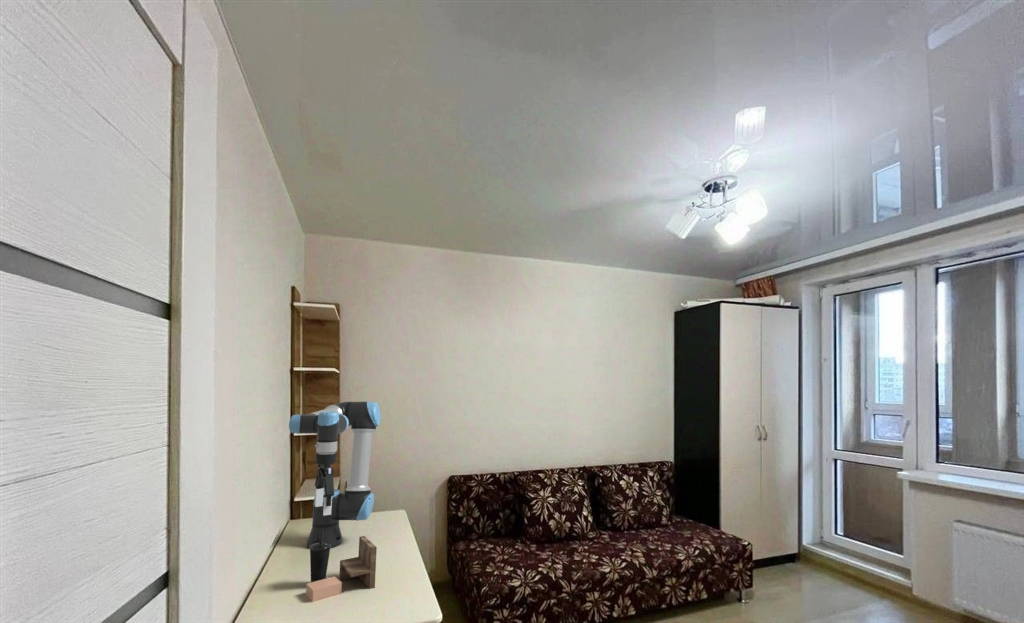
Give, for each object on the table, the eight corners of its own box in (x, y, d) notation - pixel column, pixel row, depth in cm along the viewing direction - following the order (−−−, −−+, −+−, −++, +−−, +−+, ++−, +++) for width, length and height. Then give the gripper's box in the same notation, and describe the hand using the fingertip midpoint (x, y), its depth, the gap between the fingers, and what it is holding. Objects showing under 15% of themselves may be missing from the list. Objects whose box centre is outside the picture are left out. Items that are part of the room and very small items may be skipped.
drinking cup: (333, 582, 179) (336, 526, 182) (319, 590, 172) (322, 532, 175) (317, 579, 182) (320, 524, 184) (302, 587, 174) (305, 530, 177)
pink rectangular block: (305, 595, 169) (306, 583, 169) (333, 587, 175) (334, 576, 176) (312, 603, 163) (313, 590, 164) (341, 594, 170) (341, 582, 170)
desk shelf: (339, 578, 182) (341, 539, 184) (362, 573, 187) (364, 535, 189) (349, 593, 170) (352, 552, 172) (374, 587, 175) (376, 547, 177)
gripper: (309, 449, 191) (305, 504, 188) (323, 458, 171) (319, 520, 168) (328, 447, 195) (325, 501, 193) (345, 456, 175) (341, 517, 172)
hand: (322, 510), depth 180 cm, fingers open, 13 cm apart
